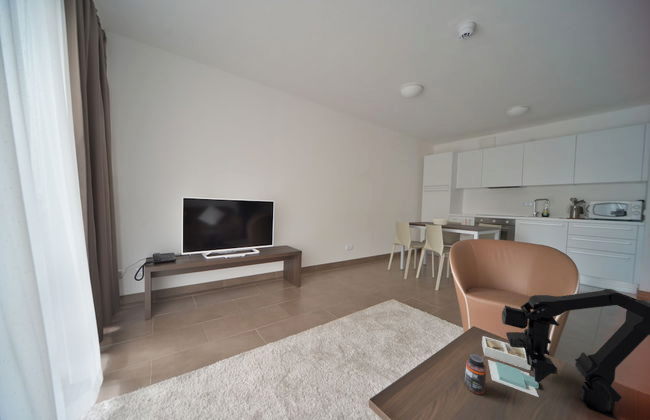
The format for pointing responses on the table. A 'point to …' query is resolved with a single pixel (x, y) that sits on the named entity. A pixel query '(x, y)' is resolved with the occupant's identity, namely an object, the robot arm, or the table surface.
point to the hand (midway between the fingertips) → (533, 372)
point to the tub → (505, 354)
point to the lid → (514, 376)
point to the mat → (495, 378)
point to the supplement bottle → (475, 374)
